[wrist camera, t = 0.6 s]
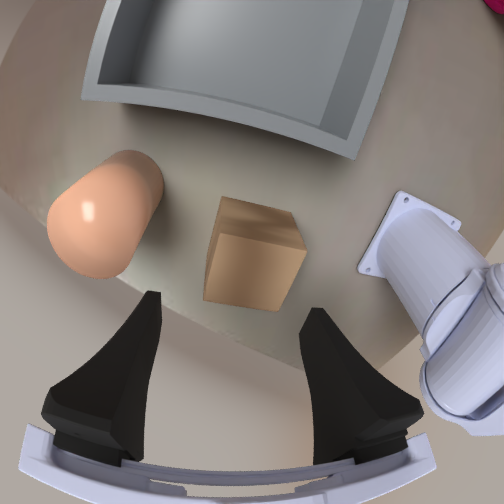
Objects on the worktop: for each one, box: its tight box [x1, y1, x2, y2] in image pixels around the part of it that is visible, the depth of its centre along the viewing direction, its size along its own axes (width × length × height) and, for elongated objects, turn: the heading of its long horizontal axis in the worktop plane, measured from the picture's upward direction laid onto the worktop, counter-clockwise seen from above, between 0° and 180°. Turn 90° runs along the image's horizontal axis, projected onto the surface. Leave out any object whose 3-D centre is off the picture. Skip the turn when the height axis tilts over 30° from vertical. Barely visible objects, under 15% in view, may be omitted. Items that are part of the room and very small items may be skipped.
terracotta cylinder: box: [47, 150, 164, 279], centre depth 14 cm, size 5×5×7 cm
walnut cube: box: [203, 196, 307, 312], centre depth 18 cm, size 5×5×5 cm
